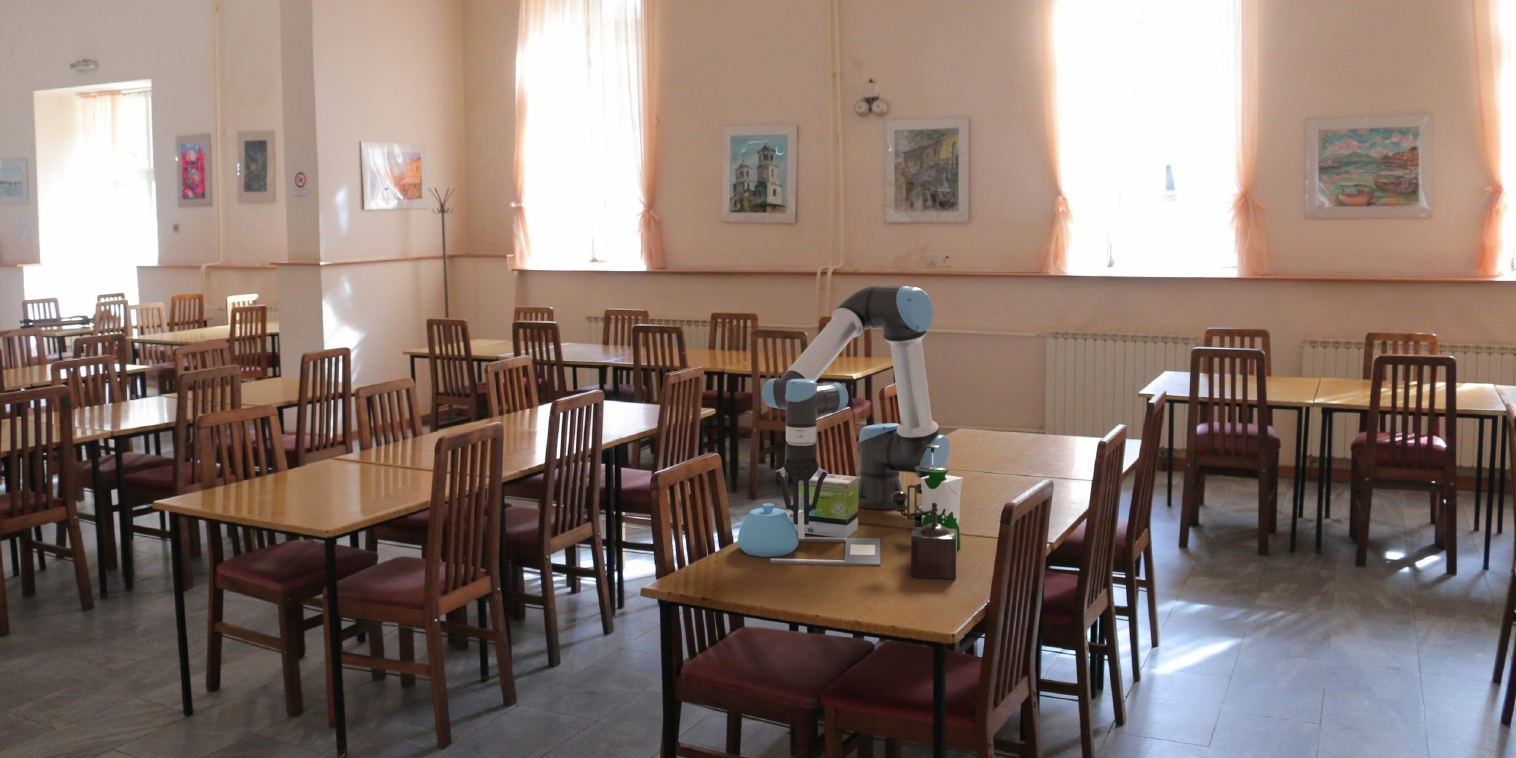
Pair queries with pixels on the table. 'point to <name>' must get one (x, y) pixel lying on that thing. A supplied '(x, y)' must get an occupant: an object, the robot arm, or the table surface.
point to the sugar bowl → (768, 532)
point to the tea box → (832, 506)
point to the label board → (855, 552)
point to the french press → (921, 472)
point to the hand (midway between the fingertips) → (801, 537)
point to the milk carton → (942, 499)
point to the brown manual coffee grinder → (930, 545)
